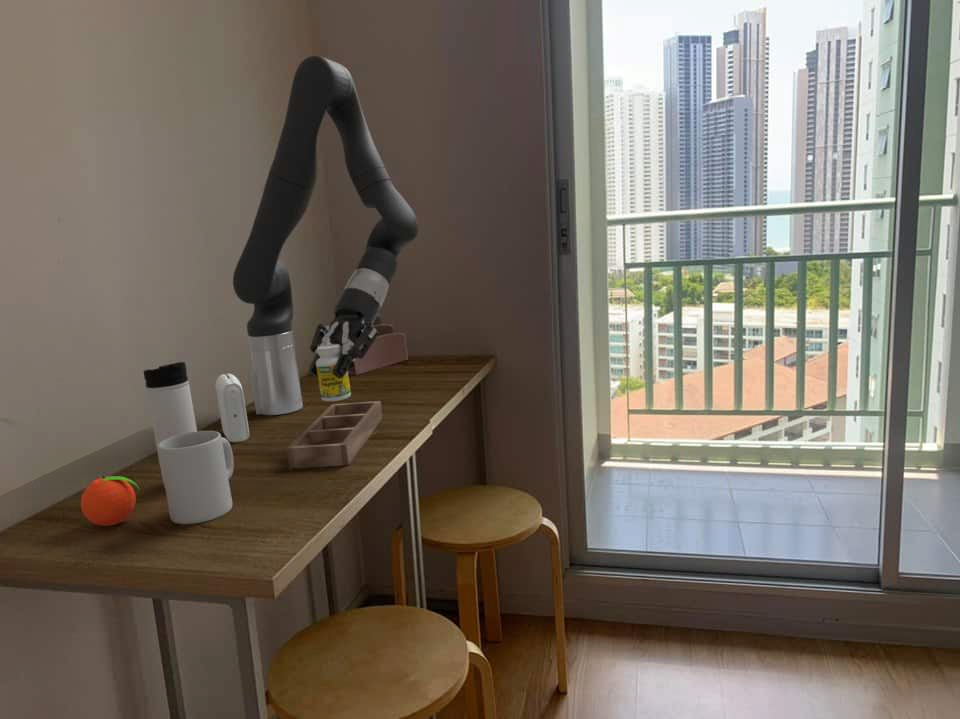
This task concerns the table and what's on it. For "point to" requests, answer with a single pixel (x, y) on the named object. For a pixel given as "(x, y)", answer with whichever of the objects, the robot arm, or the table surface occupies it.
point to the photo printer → (232, 408)
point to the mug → (197, 476)
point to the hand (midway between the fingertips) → (325, 375)
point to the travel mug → (169, 402)
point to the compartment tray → (335, 435)
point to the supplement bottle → (331, 374)
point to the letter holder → (380, 350)
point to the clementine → (108, 500)
